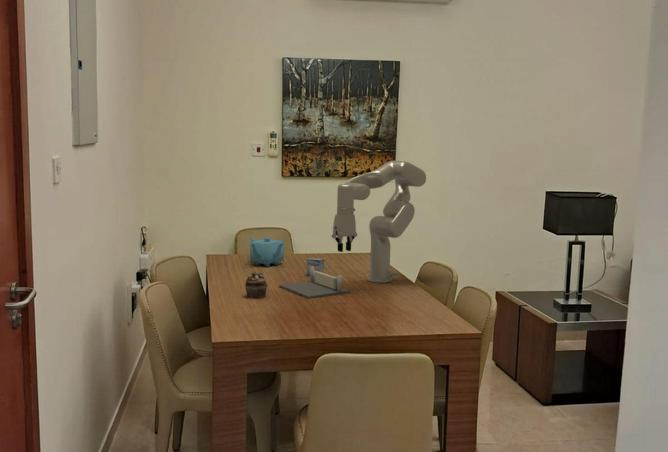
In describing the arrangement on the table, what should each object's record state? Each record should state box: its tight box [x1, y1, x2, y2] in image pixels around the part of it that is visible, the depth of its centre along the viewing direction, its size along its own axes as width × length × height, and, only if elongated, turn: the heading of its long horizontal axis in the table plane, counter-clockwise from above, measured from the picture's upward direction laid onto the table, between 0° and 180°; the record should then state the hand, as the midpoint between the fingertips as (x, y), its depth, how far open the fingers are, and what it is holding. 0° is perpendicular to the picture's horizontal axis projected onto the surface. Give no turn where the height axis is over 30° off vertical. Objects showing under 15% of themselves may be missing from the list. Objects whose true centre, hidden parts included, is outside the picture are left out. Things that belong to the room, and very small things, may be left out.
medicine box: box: [306, 257, 325, 277], centre depth 320 cm, size 8×4×9 cm, turn 68°
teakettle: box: [249, 237, 286, 268], centre depth 346 cm, size 19×19×15 cm
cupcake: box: [245, 272, 268, 299], centre depth 276 cm, size 10×10×10 cm
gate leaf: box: [313, 271, 337, 290], centre depth 293 cm, size 2×19×5 cm, turn 34°
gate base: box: [278, 267, 351, 300], centre depth 290 cm, size 22×25×8 cm
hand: (344, 250), depth 294 cm, fingers open, 3 cm apart
